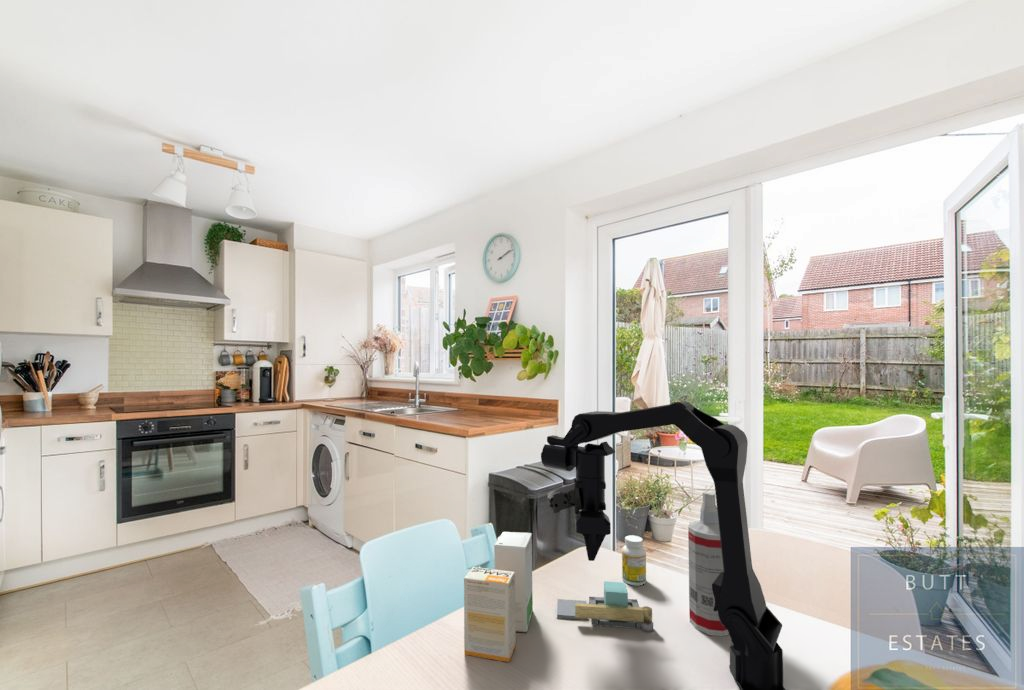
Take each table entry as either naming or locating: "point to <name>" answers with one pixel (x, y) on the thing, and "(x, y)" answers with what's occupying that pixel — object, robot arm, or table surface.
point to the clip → (613, 612)
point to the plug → (616, 603)
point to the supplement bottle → (634, 561)
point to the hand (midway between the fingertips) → (590, 553)
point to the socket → (631, 602)
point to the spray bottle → (705, 568)
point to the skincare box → (517, 572)
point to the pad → (568, 608)
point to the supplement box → (489, 613)
